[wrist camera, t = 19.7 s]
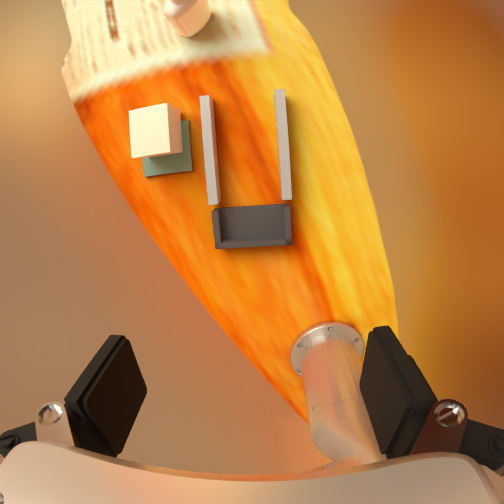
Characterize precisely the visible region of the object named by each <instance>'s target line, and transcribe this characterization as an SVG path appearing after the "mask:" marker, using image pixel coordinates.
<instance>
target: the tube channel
mask: <svg viewBox="0 0 504 504" xmlns="http://www.w3.org/2000/svg"><path fill="white" fill-rule="evenodd" d="M274 103H275V116H276V129H277V143H278V157H279V173H280V190H281V198H282V200H292V190H291V171H290V155H289V139H288V126H287V113H286V101H285V89H275V90H274ZM200 109H201V123H202V137H203V149H204V161H205V173H206V184H207V194H208V204H209V205H214V204H219V203H220V201H221V192H220V180H219V169H218V156H217V144H216V131H215V117H214V103H213V99H212V98H211V96H210V95H206V96H200Z"/></svg>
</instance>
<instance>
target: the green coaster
mask: <svg viewBox="0 0 504 504" xmlns="http://www.w3.org/2000/svg"><path fill="white" fill-rule="evenodd" d="M181 133H182V146H183V152H182V153H175V154H168V155H161V156H155V157H147V158H142V160H143V170H144V177H147V176H154V175H161V174H168V173H176V172H184V171H192V170H193V165H192V154H191V142H190V128H189V120H183V121H181Z"/></svg>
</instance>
